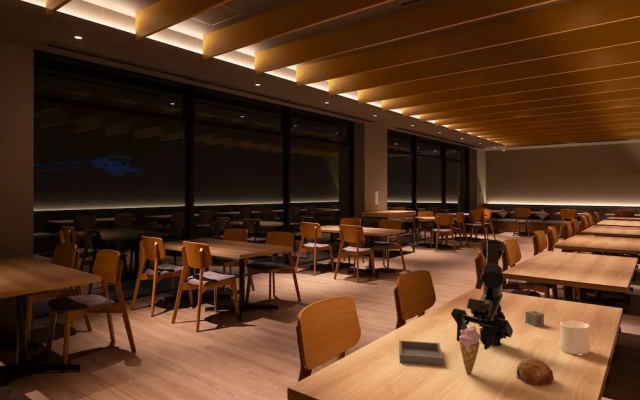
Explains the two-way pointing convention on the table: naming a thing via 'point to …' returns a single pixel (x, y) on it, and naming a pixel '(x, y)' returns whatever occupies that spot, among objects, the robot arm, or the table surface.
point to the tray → (420, 352)
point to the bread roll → (534, 372)
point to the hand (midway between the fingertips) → (470, 344)
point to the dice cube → (534, 318)
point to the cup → (574, 337)
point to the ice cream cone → (469, 347)
